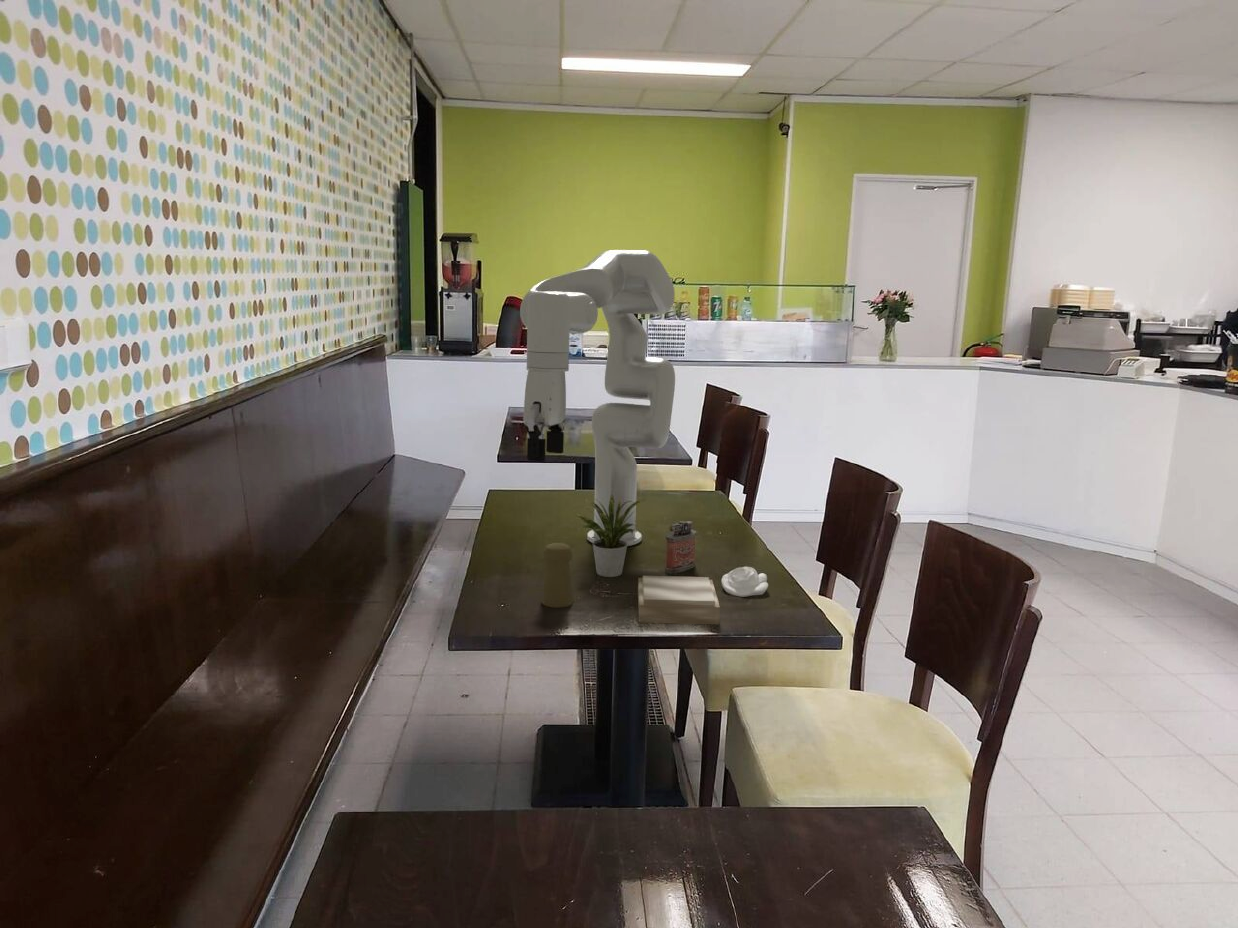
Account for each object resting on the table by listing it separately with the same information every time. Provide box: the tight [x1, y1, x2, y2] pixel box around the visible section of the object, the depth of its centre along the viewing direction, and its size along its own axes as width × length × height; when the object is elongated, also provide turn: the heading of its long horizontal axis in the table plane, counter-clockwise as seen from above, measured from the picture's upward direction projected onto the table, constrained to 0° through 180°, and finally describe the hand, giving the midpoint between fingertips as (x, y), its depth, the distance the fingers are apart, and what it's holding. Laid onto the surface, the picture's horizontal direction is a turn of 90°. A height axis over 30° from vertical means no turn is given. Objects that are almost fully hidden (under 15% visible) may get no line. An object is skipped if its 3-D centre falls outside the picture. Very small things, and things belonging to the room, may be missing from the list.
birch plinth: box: [637, 575, 721, 625], centre depth 157 cm, size 14×14×4 cm
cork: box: [540, 542, 575, 609], centre depth 158 cm, size 6×6×11 cm
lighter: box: [664, 520, 697, 574], centre depth 179 cm, size 8×3×10 cm, turn 135°
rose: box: [720, 565, 769, 598], centre depth 169 cm, size 10×4×10 cm
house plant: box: [573, 495, 648, 578], centre depth 175 cm, size 14×14×16 cm
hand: (545, 456), depth 157 cm, fingers open, 9 cm apart
